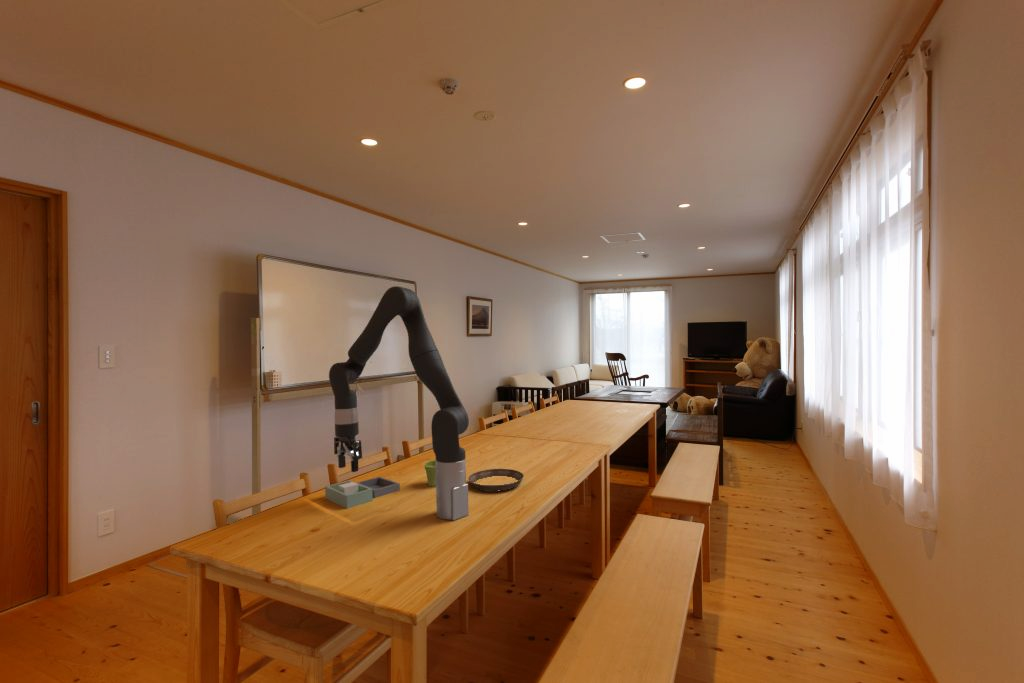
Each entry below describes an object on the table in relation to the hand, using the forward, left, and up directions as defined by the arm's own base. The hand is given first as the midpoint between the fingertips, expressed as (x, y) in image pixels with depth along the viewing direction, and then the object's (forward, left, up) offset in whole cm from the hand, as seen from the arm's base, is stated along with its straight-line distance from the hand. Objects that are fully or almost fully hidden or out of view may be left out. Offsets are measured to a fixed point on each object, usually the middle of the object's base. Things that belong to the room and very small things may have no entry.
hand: (348, 469), depth 158 cm
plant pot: (-10, -29, -11) cm, 33 cm away
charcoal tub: (+1, -11, -11) cm, 16 cm away
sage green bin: (0, 0, -11) cm, 11 cm away
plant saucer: (-25, -45, -12) cm, 53 cm away
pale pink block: (0, 0, -10) cm, 10 cm away
